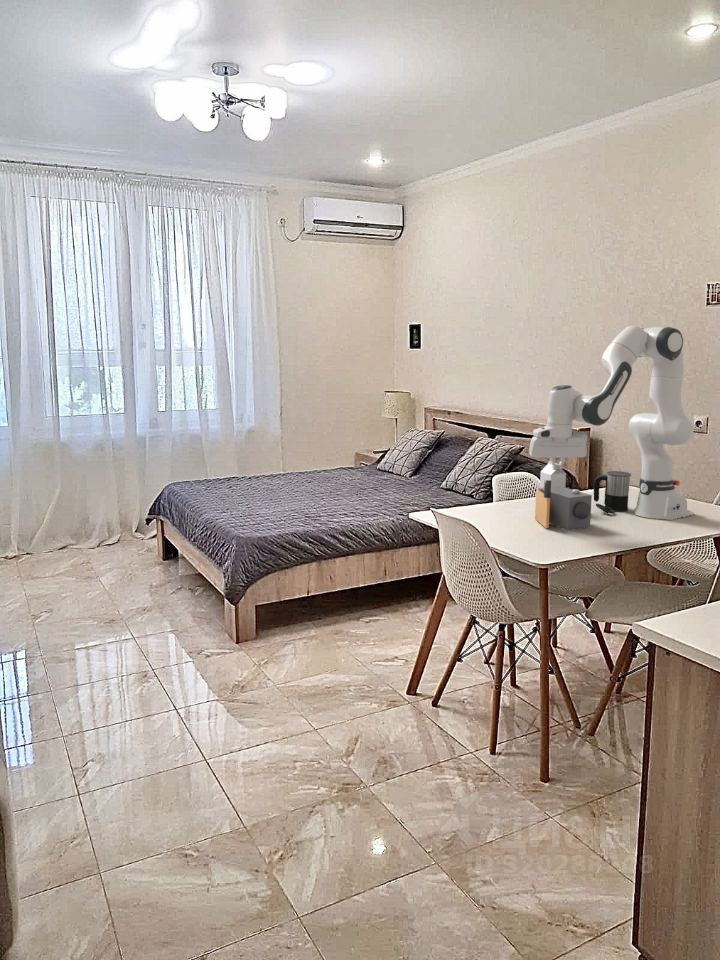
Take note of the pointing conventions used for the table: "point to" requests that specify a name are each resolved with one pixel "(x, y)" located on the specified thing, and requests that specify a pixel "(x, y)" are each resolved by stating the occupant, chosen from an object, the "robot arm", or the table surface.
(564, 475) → the milk carton
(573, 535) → the table surface
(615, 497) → the milk frother
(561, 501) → the camera body
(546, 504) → the tan flat panel
